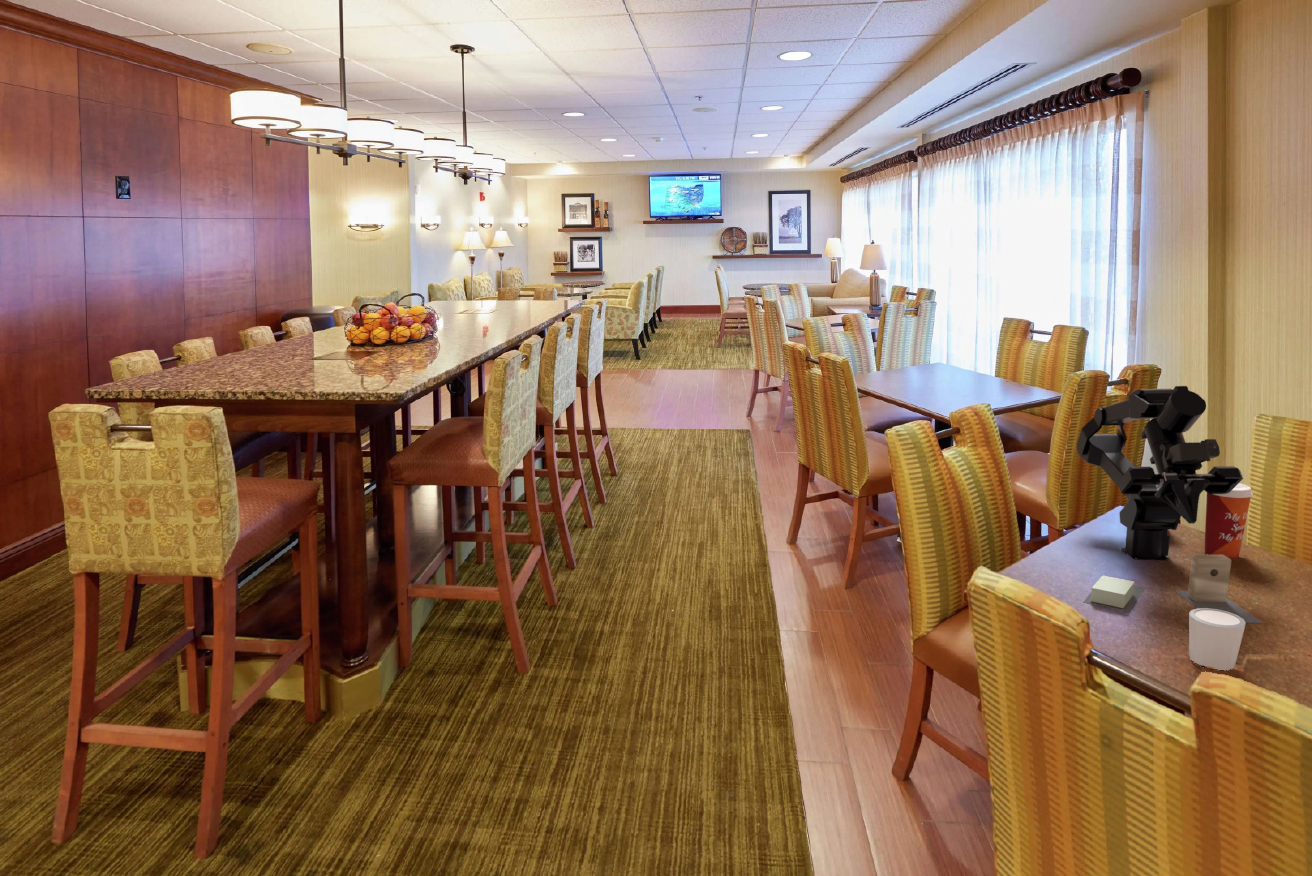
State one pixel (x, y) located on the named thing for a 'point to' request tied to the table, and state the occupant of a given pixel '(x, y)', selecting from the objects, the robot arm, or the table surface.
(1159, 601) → the table surface
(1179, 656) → the table surface
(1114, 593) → the sage tile
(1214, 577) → the cream tile
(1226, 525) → the paper cup
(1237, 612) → the pair of gray tiles
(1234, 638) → the white cup
